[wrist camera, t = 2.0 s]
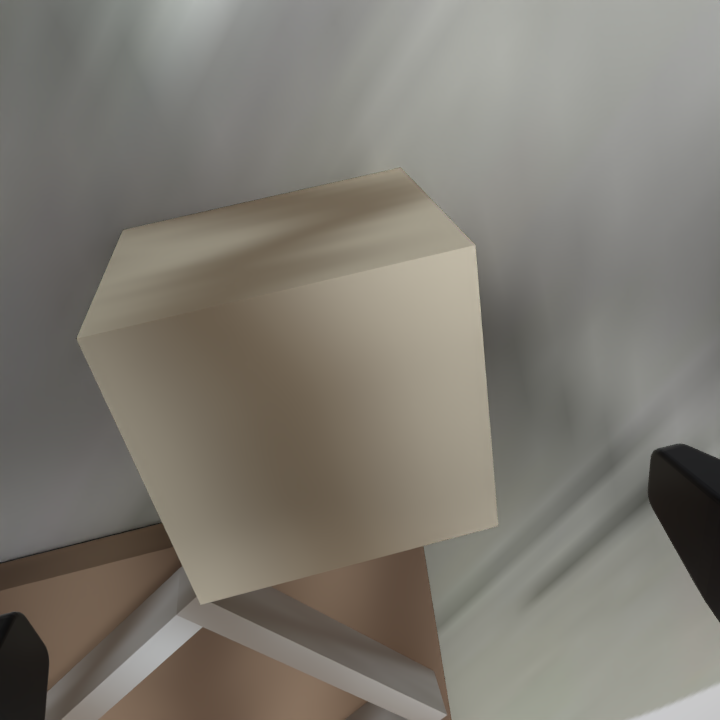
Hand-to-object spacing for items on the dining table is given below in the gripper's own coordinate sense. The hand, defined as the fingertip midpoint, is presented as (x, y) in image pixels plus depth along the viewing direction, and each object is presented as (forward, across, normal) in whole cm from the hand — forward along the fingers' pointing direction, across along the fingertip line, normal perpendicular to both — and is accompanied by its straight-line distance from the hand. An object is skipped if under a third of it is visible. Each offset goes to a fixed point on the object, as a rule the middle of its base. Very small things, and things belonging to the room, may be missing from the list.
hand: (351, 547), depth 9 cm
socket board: (+7, +5, +12) cm, 15 cm away
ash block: (+7, 0, 0) cm, 7 cm away
